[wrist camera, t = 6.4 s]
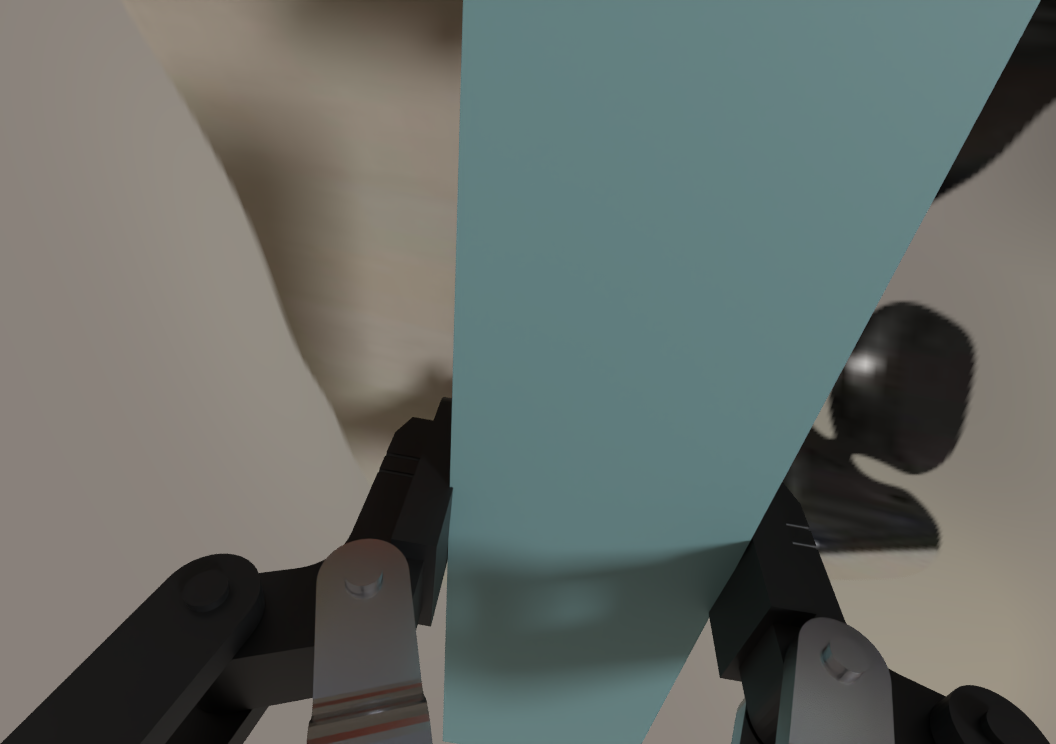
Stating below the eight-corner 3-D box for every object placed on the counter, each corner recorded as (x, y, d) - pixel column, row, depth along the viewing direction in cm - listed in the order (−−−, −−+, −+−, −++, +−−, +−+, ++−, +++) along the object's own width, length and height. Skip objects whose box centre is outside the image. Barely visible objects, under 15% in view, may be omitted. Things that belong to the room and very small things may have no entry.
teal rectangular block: (518, -127, 7) (467, -187, 4) (902, -79, 7) (1099, -111, 4) (466, 619, 18) (442, 741, 15) (622, 642, 18) (627, 770, 15)
